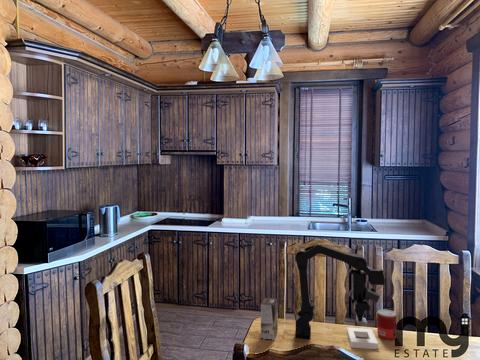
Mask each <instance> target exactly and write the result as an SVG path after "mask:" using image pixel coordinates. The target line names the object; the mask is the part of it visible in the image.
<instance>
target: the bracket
mask: <svg viewBox="0 0 480 360" xmlns="http://www.w3.org/2000/svg"><path fill="white" fill-rule="evenodd" d="M355 322H356V324H357V326H358V327H359V326H360V327H361V326H362V327H368V321H367V319H366V317H363V318H362V321H359V320H358V317H357V315H356V314H355Z"/></svg>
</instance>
